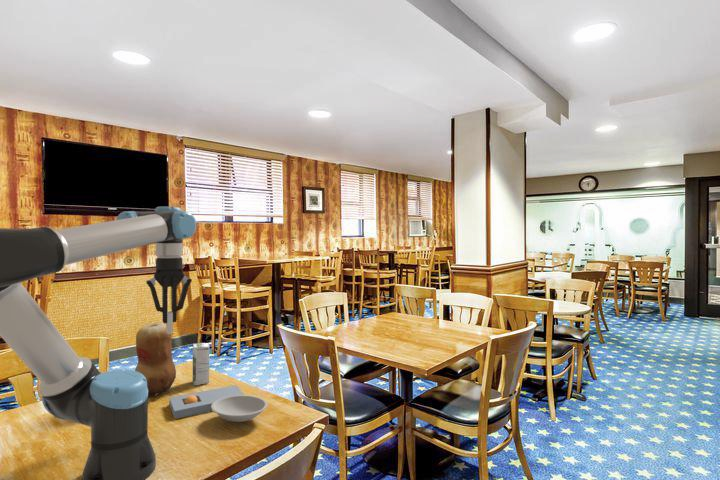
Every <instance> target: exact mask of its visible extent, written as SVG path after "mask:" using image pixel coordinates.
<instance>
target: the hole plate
mask: <svg viewBox="0 0 720 480" xmlns="http://www.w3.org/2000/svg"><path fill="white" fill-rule="evenodd" d="M190 395H194V396H196V398H197V400H198V402H196V403H191V404H186V405H185V404H184V401H185V399H186V398H187V397H188V396H190ZM235 395H245V394H244V393H243V391H242V390H241V389H240V388H239V386H238V385H237V384H234V385H230V386H224V387H222V386H221V387H217V388H211V389H208V390H203V391H202V390H201V391H196V392H192V393H186V394H182V395H176V396H169V399H168V402H169V404H168V406H169V408H170V410H171V411H170V412H171V413H172V416H173V419H174V420H177V419H182V418H188V417H189V416H190V417H191V416H196V415H200V413H201V414H205V413H208V412H207V411H210V412H212V411H211V410H212V409H211V405H212V403H213V402H215V401H216V400H218V399H221V398H224V397H228V396H235ZM204 412H205V413H204Z"/></svg>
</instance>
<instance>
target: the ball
mask: <svg viewBox="0 0 720 480" xmlns="http://www.w3.org/2000/svg"><path fill="white" fill-rule="evenodd" d="M196 402H198V400H197V398H196V396H194V395H190V396H188V397H187V398H186V399H185V401H184V404H185V405H186V404H191V403H196Z"/></svg>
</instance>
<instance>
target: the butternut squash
mask: <svg viewBox="0 0 720 480" xmlns="http://www.w3.org/2000/svg"><path fill="white" fill-rule="evenodd" d="M172 344H173V340H172V334H167V332H166V323H163V322H154V323H150V324H146V325H144V326H141V328H140V329H138V330H137V332H136V337H135V351H136V355H137V365H136V366H135V369H134V371H137V372H139V373H141V374H143V375H144V376H145V378H146V380H147V388H148V396H157V395H158V394H160V393H165V392H166V391H168V390H169V389H170V388H172V385H173V383H174V382H175V379H176V378H177V377H176V376H177V370H176V367H175V366H176V365H175V363H174V360H173V348H172V346H173V345H172Z"/></svg>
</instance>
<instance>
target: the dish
mask: <svg viewBox="0 0 720 480" xmlns="http://www.w3.org/2000/svg"><path fill="white" fill-rule="evenodd" d="M267 408H268V402H267V400H265V399H264V398H262V397H260V396H255V395H248V394H244V395H235V396H228V397H224V398H221V399H218V400H216V401H215V402H213V403H212V405H211V409H212V410H213V411H212V412H214V413H215V414H217V415H218V416H219V417H220V418H221V419H224V420H226V421H228V422H232V423H242V422H247V421H251V420H253V419H255V418H257V417H258V416H259V415H260V414H261V413H263V411H265V410H267Z"/></svg>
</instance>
